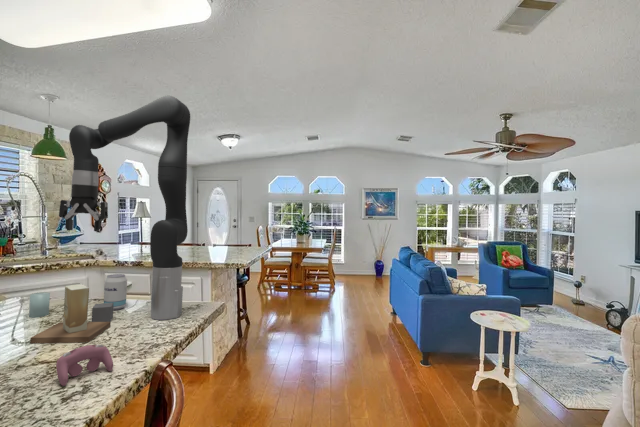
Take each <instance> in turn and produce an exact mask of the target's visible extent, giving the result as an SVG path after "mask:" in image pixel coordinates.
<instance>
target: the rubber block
mask: <svg viewBox="0 0 640 427" xmlns="http://www.w3.org/2000/svg"><path fill="white" fill-rule="evenodd" d="M113 304H114V303H104V302H103V303H95V304H94V305H93V306H92V308H91V322H112V320H113V318H114V310H113Z"/></svg>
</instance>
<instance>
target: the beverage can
mask: <svg viewBox="0 0 640 427" xmlns="http://www.w3.org/2000/svg"><path fill="white" fill-rule="evenodd" d="M127 289H128V278H127V277H126V274H123V273H115V274H114V273H113V274H108V275H107V276H106V278H105V280H104V290H103V303H114V304H113V311H119V309H120V310H122V309H123V308H124V307H126V306H127V294H128V290H127Z"/></svg>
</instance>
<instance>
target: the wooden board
mask: <svg viewBox="0 0 640 427" xmlns="http://www.w3.org/2000/svg"><path fill="white" fill-rule="evenodd" d="M111 322H112V321H111ZM111 322H92V321H87V330H83V331H78V332H73V333H68V332H67V331H66V330H64V328H63V321H61V322H58V323H56V324H53V325H52V326H50V327H48V328H46V329H44V330H42V331H41V332H39V333H37V334H34V335H33V336H31V337H30V340H29V341H30V342H29V343H30V344H66V343H67V344H69V343H71V344H72V343H77V344H78V343H89V342H92V341H93V340H94V339H95V338H97V337H98V336H100V335H101V334H102V333H104V332H105V331H107V330H108V329H109V328H111Z"/></svg>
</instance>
